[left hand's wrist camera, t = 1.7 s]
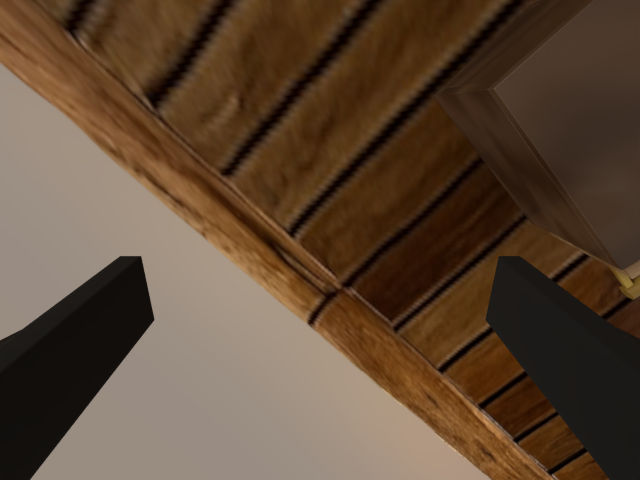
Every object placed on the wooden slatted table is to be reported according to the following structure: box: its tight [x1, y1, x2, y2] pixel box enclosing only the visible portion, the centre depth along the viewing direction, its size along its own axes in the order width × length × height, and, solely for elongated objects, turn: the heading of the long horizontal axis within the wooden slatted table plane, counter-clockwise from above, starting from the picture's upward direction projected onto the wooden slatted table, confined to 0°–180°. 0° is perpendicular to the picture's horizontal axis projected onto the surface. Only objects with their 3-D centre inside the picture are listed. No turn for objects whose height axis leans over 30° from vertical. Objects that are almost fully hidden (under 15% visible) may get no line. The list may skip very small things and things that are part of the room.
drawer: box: [550, 233, 640, 299], centre depth 28 cm, size 21×9×10 cm, turn 44°
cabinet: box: [434, 0, 640, 270], centre depth 26 cm, size 17×10×11 cm, turn 44°
